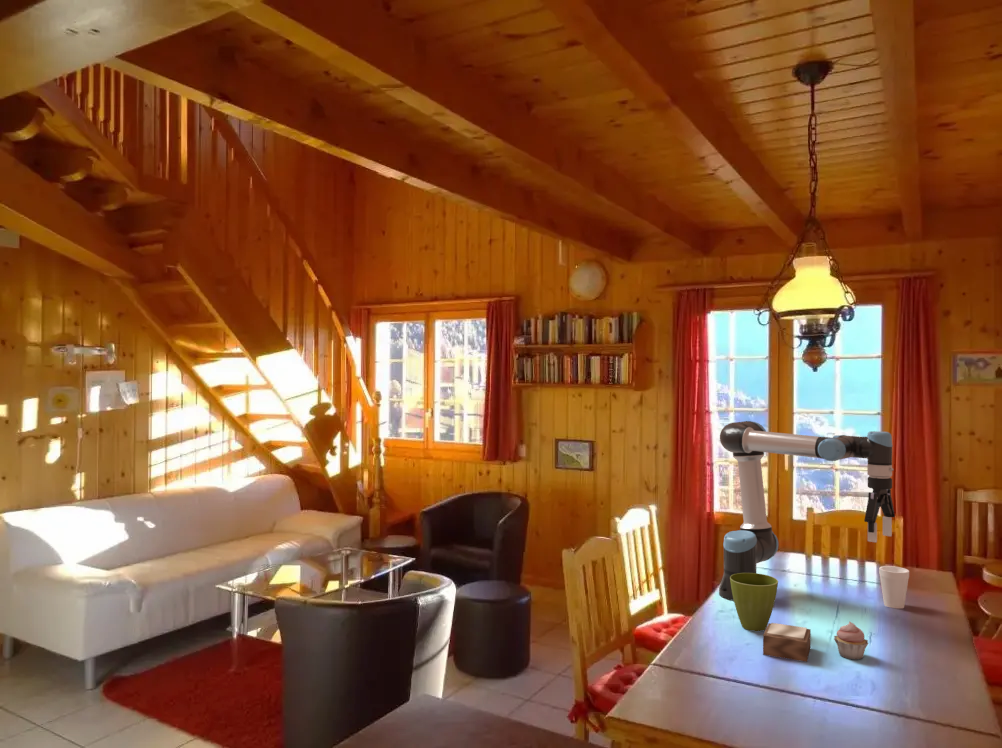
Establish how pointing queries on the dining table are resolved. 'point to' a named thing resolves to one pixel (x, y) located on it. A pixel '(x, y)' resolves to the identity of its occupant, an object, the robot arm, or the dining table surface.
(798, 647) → the walnut base
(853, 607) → the dining table surface
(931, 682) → the dining table surface
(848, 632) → the cupcake
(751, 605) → the flower pot
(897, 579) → the foam cup
